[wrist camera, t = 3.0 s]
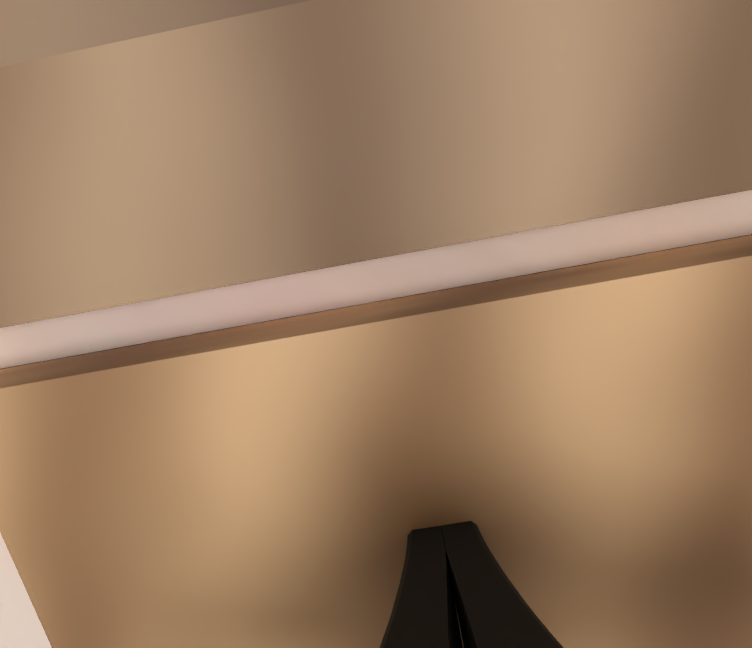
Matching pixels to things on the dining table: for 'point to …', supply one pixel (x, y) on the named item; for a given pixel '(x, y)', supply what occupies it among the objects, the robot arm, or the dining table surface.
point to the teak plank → (401, 463)
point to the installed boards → (342, 132)
